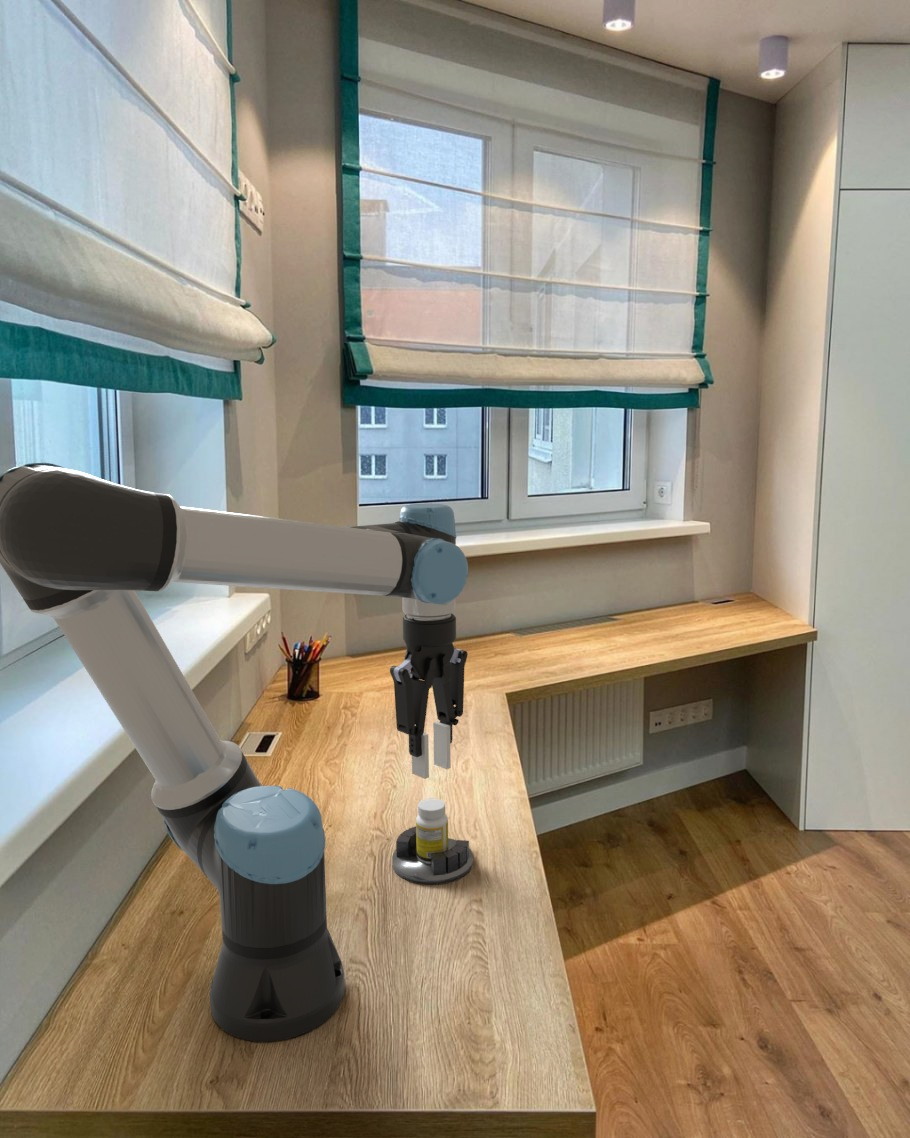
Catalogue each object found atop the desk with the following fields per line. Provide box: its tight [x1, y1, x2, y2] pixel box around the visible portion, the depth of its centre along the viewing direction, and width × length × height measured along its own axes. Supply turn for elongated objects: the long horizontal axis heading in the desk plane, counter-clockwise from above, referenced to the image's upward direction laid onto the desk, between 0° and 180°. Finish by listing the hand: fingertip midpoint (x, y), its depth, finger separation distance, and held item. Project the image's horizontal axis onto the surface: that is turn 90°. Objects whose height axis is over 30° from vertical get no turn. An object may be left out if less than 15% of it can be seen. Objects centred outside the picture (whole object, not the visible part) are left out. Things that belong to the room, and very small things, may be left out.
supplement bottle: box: [415, 798, 449, 864], centre depth 128 cm, size 5×5×8 cm
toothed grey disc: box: [391, 825, 474, 886], centre depth 128 cm, size 12×12×4 cm
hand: (431, 770), depth 126 cm, fingers open, 4 cm apart
